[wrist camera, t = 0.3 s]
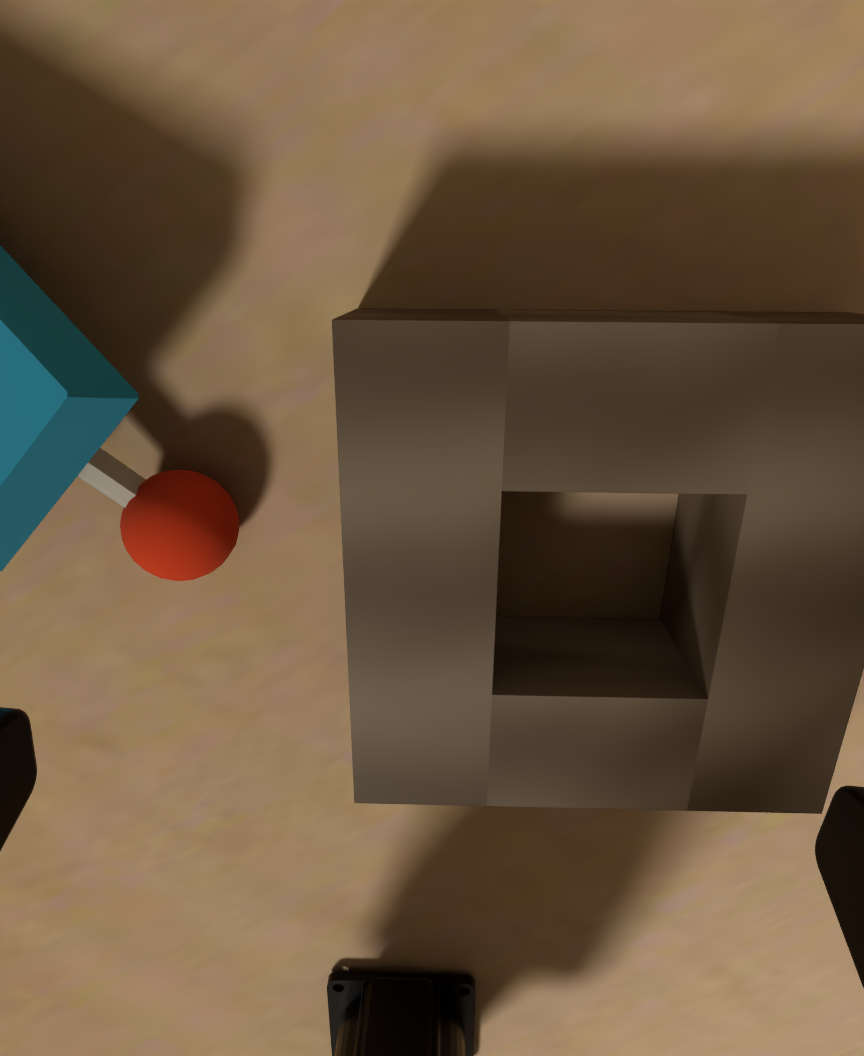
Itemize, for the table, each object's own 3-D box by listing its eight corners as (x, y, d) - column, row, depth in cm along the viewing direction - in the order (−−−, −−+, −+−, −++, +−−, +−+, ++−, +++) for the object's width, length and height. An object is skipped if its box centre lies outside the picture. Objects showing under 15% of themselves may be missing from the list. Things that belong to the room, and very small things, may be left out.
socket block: (756, 718, 24) (821, 813, 20) (370, 710, 24) (354, 803, 20) (848, 312, 19) (962, 325, 15) (357, 308, 19) (332, 320, 15)
